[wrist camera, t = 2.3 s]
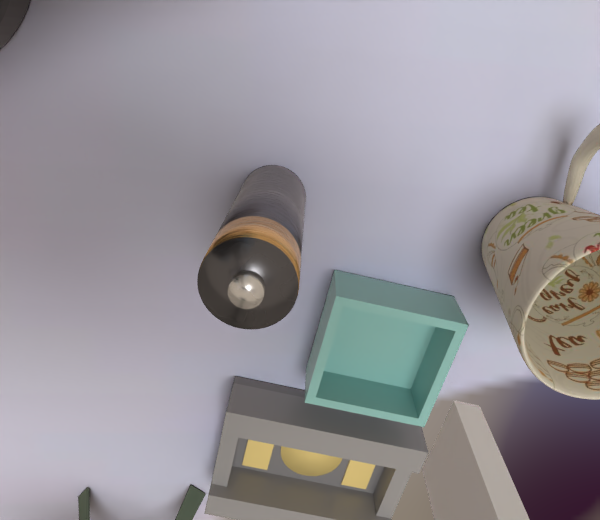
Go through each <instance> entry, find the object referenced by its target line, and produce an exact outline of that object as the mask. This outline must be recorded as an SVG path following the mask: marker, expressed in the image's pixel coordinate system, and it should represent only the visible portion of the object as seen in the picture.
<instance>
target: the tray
mask: <svg viewBox="0 0 600 520" xmlns="http://www.w3.org/2000/svg"><path fill="white" fill-rule="evenodd" d="M468 326H469V325H468V323H467V321H466V319H465V317H464V315H463V313H462V311H461V309H460V307H459V305H458V304H457V302H456V300H455V298H454V296H450V295H445V294H441V293H436V292H432V291H427V290H423V289H418V288H414V287H409V286H405V285H400V284H396V283H391V282H387V281H383V280H378V279H374V278H369V277H365V276H360V275H356V274H351V273H347V272H342V271H338V270H334V273H333V277H332V280H331V284H330V287H329V291H328V294H327V298H326V301H325V304H324V308H323V311H322V315H321V318H320V322H319V325H318V329H317V332H316V336H315V339H314V343H313V346H312V350H311V353H310V357H309V360H308V364H307V367H306V381H305V403H309V404H314V405H319V406H324V407H328V408H333V409H338V410H343V411H348V412H353V413H358V414H363V415H367V416H372V417H377V418H382V419H387V420H392V421H397V422H401V423H406V424H411V425H416V426H421V427H424V426H425V424H426V422H427V420H428V417H429V415H430V412H431V410H432V408H433V406H434V404H435V401H436V399H437V397H438V394H439V392H440V390H441V388H442V385H443V383H444V381H445V378H446V376H447V374H448V371H449V369H450V367H451V365H452V362H453V360H454V358H455V355H456V353H457V351H458V349H459V346H460V344H461V342H462V339H463V337H464V335H465V333H466V330H467V328H468Z"/></svg>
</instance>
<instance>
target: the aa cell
mask: <svg viewBox="0 0 600 520" xmlns="http://www.w3.org/2000/svg"><path fill="white" fill-rule="evenodd" d="M305 202H306V193H305V189H304V186H303V184H302V182H301V180H300V179H299V177H298V176H297V175H296V174H295V173H293V172H292V171H291V170H289V169H287V168H285V167H282V166H277V165H268V166H263V167H260V168H258V169H256V170H255V171H253V172H252V173H251V174H250V175H249V176H248V177H247V178H246V180H245V182H244V184H243V186H242V188H241V189H240V191H239V193H238V195H237V197H236V199H235V201H234V203H233V205H232V207H231V209H230V210H229V212H228V214H227V216H226V218H225V220H224V222H223V224H222V226H221V228H220V230H219V232H218V233H217V235H216V237H215V238H214V240H213V242H212V244H211V246H210V248H209V250H208V251H207V253H206V255H205V257H204V259H203V261H202V263H201V266H200V269H199V273H198V281H197V282H198V290H199V294H200V297H201V299H202V301H203V303H204V305H205V306H206V308H207V309H208V310H209V311H210V312H211V313H212V314H213V315H214V316H215V317H216V318H218V319H219V320H221V321H222V322H224V323H226V324H228V325H231V326H233V327H237V328H242V329H260V328H265V327H268V326H271V325H273V324H275V323H277V322H279V321H280V320H282V319H283V318H284V317H285V316H286V315H287V314H288V313H289V312H290V310H291V309H292V308H293V306H294V304H295V301H296V299H297V295H298V290H299V280H300V268H301V250H302V238H303V226H304V214H305Z"/></svg>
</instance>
